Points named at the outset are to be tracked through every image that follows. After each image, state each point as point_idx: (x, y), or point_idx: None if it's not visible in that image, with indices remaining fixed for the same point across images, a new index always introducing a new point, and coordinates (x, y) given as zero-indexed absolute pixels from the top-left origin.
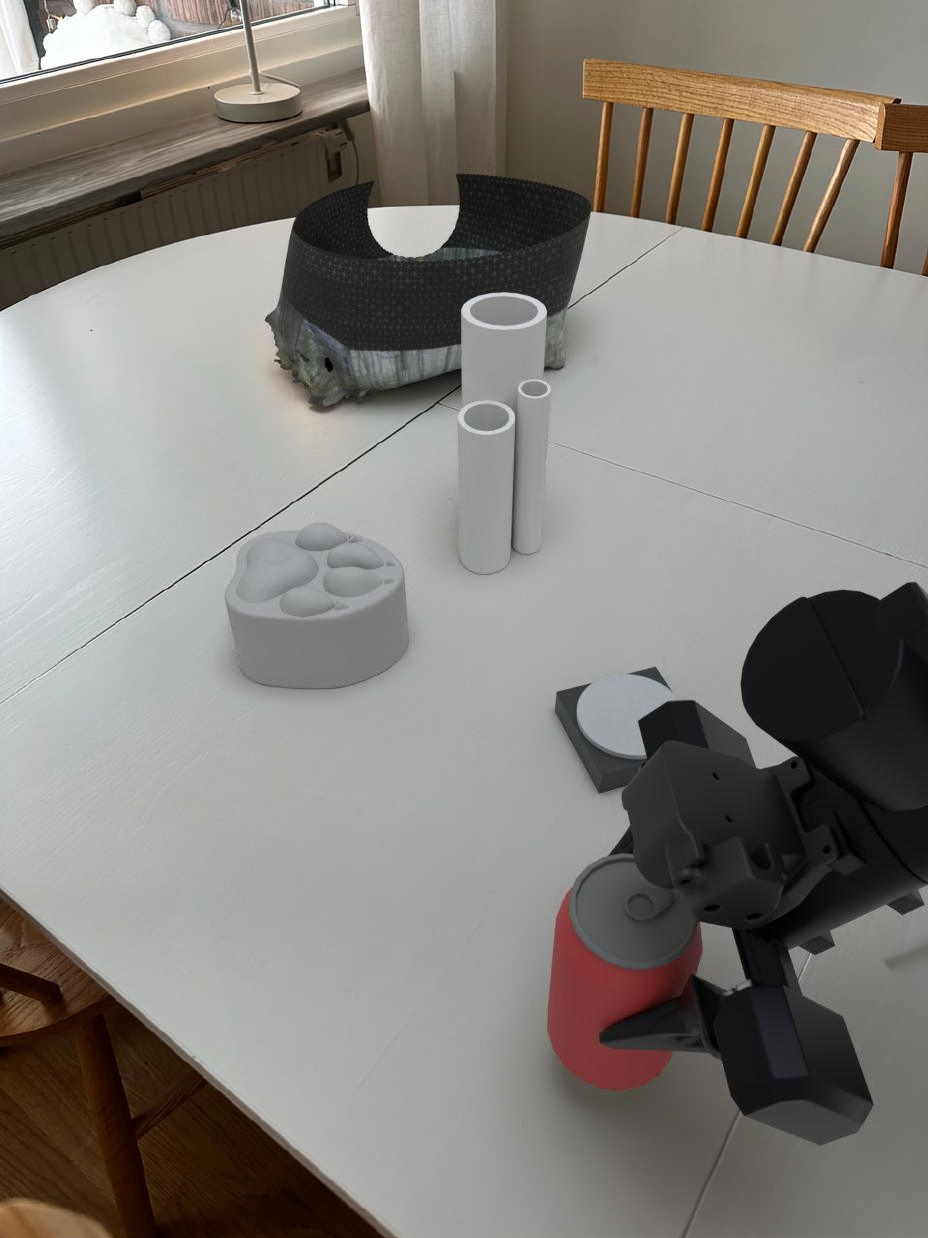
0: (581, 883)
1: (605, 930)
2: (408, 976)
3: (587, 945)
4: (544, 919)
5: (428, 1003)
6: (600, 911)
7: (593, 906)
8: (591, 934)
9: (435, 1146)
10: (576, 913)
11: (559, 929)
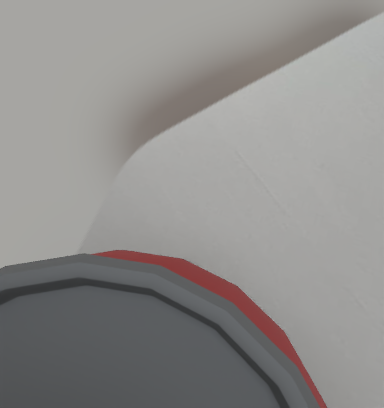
0: (270, 382)
1: (45, 377)
2: (321, 218)
3: (8, 267)
4: (351, 383)
5: (289, 227)
6: (123, 399)
7: (157, 381)
8: (54, 311)
9: (170, 193)
10: (138, 285)
11: (182, 261)
